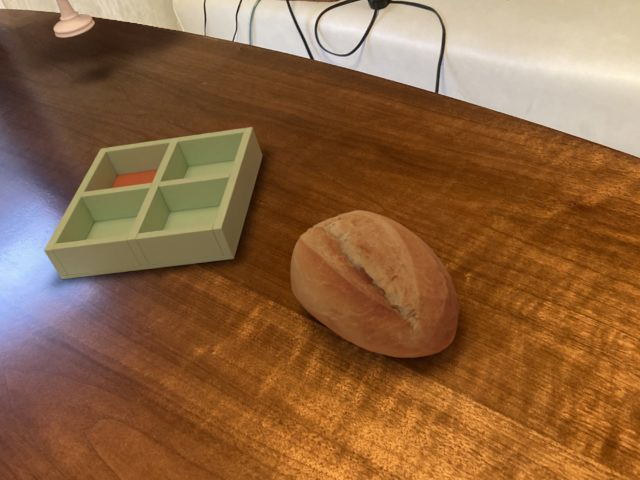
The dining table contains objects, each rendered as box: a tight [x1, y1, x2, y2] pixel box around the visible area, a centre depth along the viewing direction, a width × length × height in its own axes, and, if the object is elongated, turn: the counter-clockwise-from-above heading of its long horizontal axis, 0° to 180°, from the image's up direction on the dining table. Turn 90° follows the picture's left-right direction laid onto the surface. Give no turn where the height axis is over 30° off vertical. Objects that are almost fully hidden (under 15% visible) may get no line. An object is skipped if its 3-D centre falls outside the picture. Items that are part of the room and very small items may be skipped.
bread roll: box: [289, 209, 460, 359], centre depth 55 cm, size 10×15×8 cm, turn 43°
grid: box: [43, 126, 264, 280], centre depth 72 cm, size 16×16×3 cm
